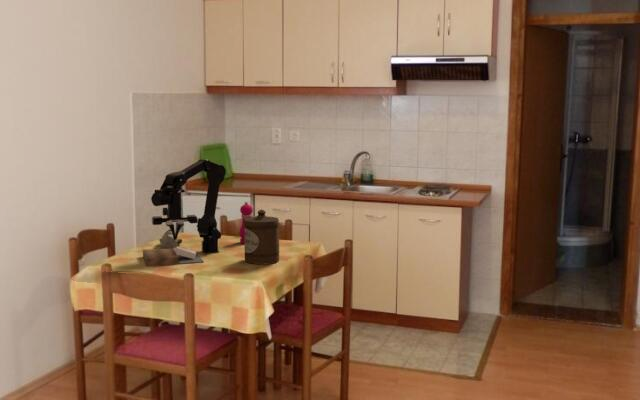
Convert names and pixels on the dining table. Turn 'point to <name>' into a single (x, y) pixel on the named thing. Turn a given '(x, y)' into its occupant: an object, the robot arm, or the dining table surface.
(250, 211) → the pepper mill
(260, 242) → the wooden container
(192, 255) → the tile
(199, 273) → the dining table surface
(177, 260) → the deck
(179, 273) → the dining table surface
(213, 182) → the robot arm
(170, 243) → the ceramic sculpture
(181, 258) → the mat
